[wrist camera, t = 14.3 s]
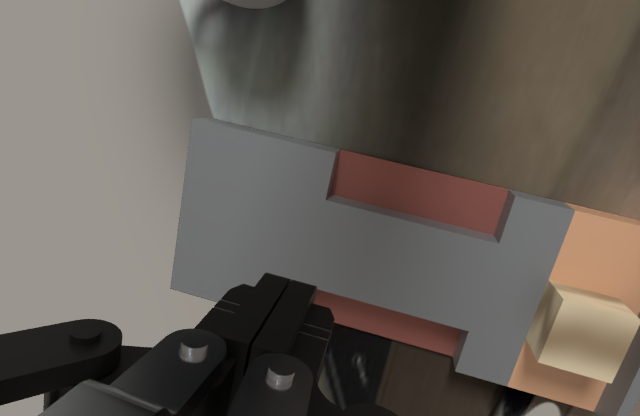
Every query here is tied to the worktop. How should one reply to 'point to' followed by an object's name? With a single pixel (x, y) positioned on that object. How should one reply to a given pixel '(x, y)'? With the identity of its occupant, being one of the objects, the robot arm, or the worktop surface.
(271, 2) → the mug
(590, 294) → the maple block
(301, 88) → the worktop surface
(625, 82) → the worktop surface
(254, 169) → the trap deck
